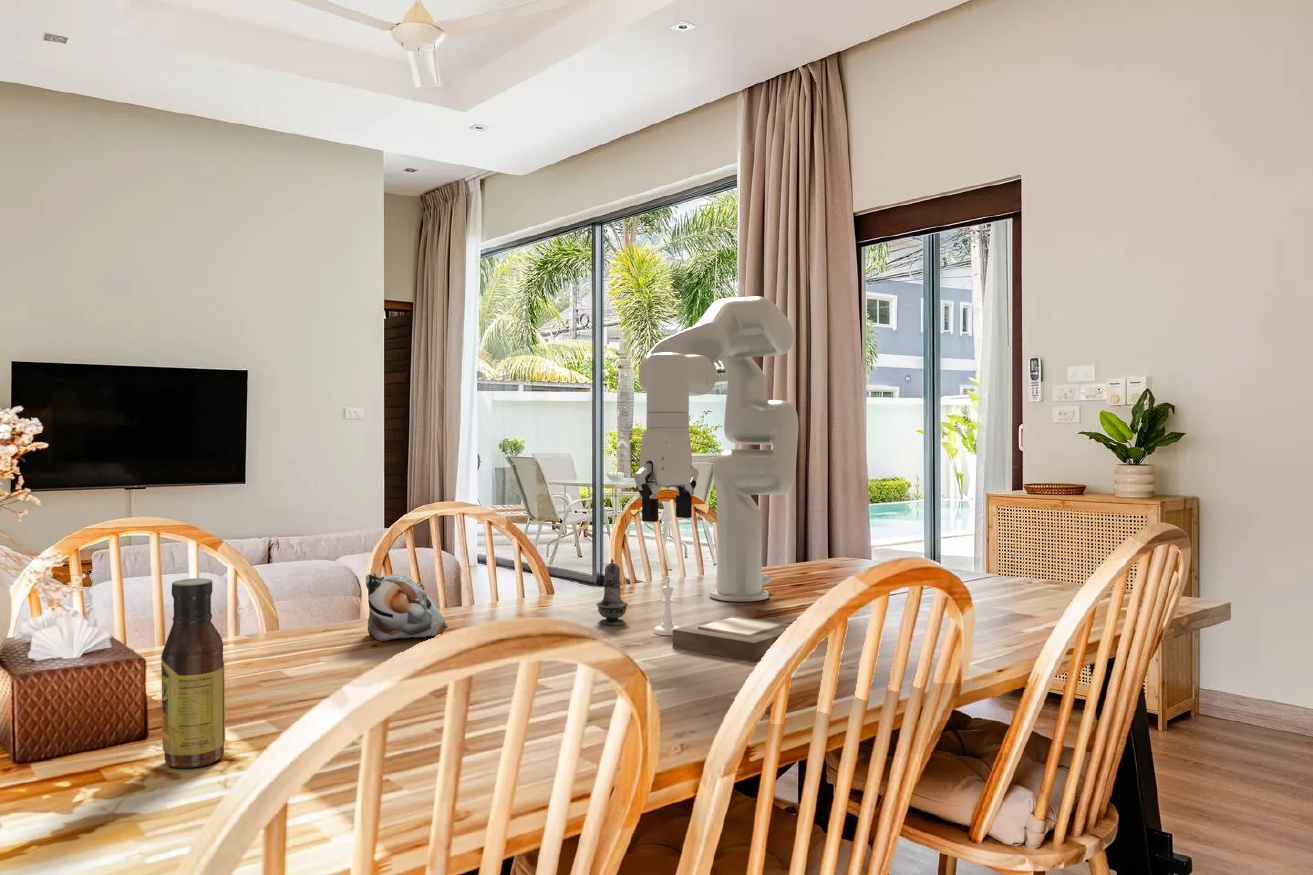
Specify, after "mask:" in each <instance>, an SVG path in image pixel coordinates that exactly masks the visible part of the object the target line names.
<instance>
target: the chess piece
mask: <svg viewBox="0 0 1313 875" xmlns="http://www.w3.org/2000/svg"><path fill="white" fill-rule="evenodd" d="M665 578H666V579H665V580H664V583H665V585H664V586H662V587H661V589H662V593H663V595H664V598H663V599H662V600H661V602H662V603H664V610H663V611H664V612H663V620H662V622H661V623H660V624H661V625H660V624H659V625H658V626H655V627H654V628H653V630H654V631H653V634H655V635H659V636H673V629H677V628H680V626H678V625H675V622H673V616H672V608H671V603H674V601H675V600H674V599H672V598H671V597H672V595H673V594H672V593H673V591H674V587H673V586H671V585H670V583H671V579H670V576H669V575H667V576H666V575H665Z"/></svg>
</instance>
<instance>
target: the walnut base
mask: <svg viewBox="0 0 1313 875" xmlns="http://www.w3.org/2000/svg"><path fill="white" fill-rule="evenodd" d="M790 624H791V623H784V622H779V621H776V622H775V621H770V620H762V619H757V618H750V617H744V616H743V617H741V616H736V615H729V614H728V615H727V614H726V615H722V616H719V617H714V618H711V619H707V620H703V621H700V622H696V623H693V624H688V625H685V626H681V627H680V626H679V627H680V628H677V629H673V635H672V649H678V650H679V649H680V650H684V651H690V652H695V653H701V654H706V655H712V656H717V657H718V656H719V657H722V658H723V657H725V658H729V659H735V660H741V661H746V662H752V663H755V662H759V661H761V660H760V659H761V658H762V657H763V656H764V654H765V653H766V651H767V650H768V649H769V648H770V646H771V645H772V644H773V643H774V642H775V641H776V640H777V639H778V637H779V636H780V635H781V634H782V633H783V632H784V631H786V628H787V627H788V626H789V625H790Z"/></svg>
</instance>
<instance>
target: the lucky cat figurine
mask: <svg viewBox="0 0 1313 875" xmlns="http://www.w3.org/2000/svg"><path fill="white" fill-rule="evenodd" d="M365 587H366V589H367V590H368V591H367V593H368V594H367V598H368V608H369V611H368V612H369V613H368V619H367V631H368V636H369V637H370V638H373V639H375V640H377V641H380V642H387V641H390V640H395V639H408V638H409V639H410V637H414V638H428V637H427V636H432V637H431V638H436V637H435V636H436V635H438V634H442V635H443V633H444V631H445V630H446V629H448V624H447V623H446V620H445V618H444V617H443V615H442V613H440V611H439V610H438V609H437V606H436V604H435V603H434V601H433V600H432V599H431V598H429V597H428V596H427V593H426V591H425V586H424V585H423V582H420V581H419V582H417V583H415V582H414V581H413V580H412V579H410V578H409V577H407V576H406V575H401V574H387V575H383V576H381V577H378V575H377V574H376V573H374V572H370V573H369V574H367V575H366V576H365Z"/></svg>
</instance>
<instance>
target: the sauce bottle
mask: <svg viewBox="0 0 1313 875" xmlns="http://www.w3.org/2000/svg"><path fill="white" fill-rule="evenodd" d="M213 591H214V590H213V580H212V579H211V578H205V577H204V578H202V577H199V578H197V577H196V578H195V577H194V578H186V579H180V580H179V579H178V580H175V581H173V582H172V583H171V596H172V598H173V617H172V625H171V628H170V630H169V633H168V636H167V639H166V642H165V645H164V647H163V650H162V653H161V654H160V655H161V656H160V659H161V660H160V661H161V662H160V665H161V668H160V669H161V732H162V734H161V735H162V751H163V752H164V761H165V763H166V764H167V766H168V767H170V768H177V769H178V768H180V769H186V768H187V769H188V768H190V769H191V768H199V767H200V768H201V767H205V766H208V765H211V764H212V763H215V762H217V761H219V760H221V759H222V757H223V756H224V754H225V741H226V699H225V698H226V695H225V694H226V689H225V688H226V687H225V686H226V685H225V682H226V681H225V677H226V676H225V662H224V643H223V637H222V636H221V634H220V633H219V631H218V629H217V628H216V627H215V624H214V623H213V622H212V619H213V618H212V617H213V614H212V594H213Z"/></svg>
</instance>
